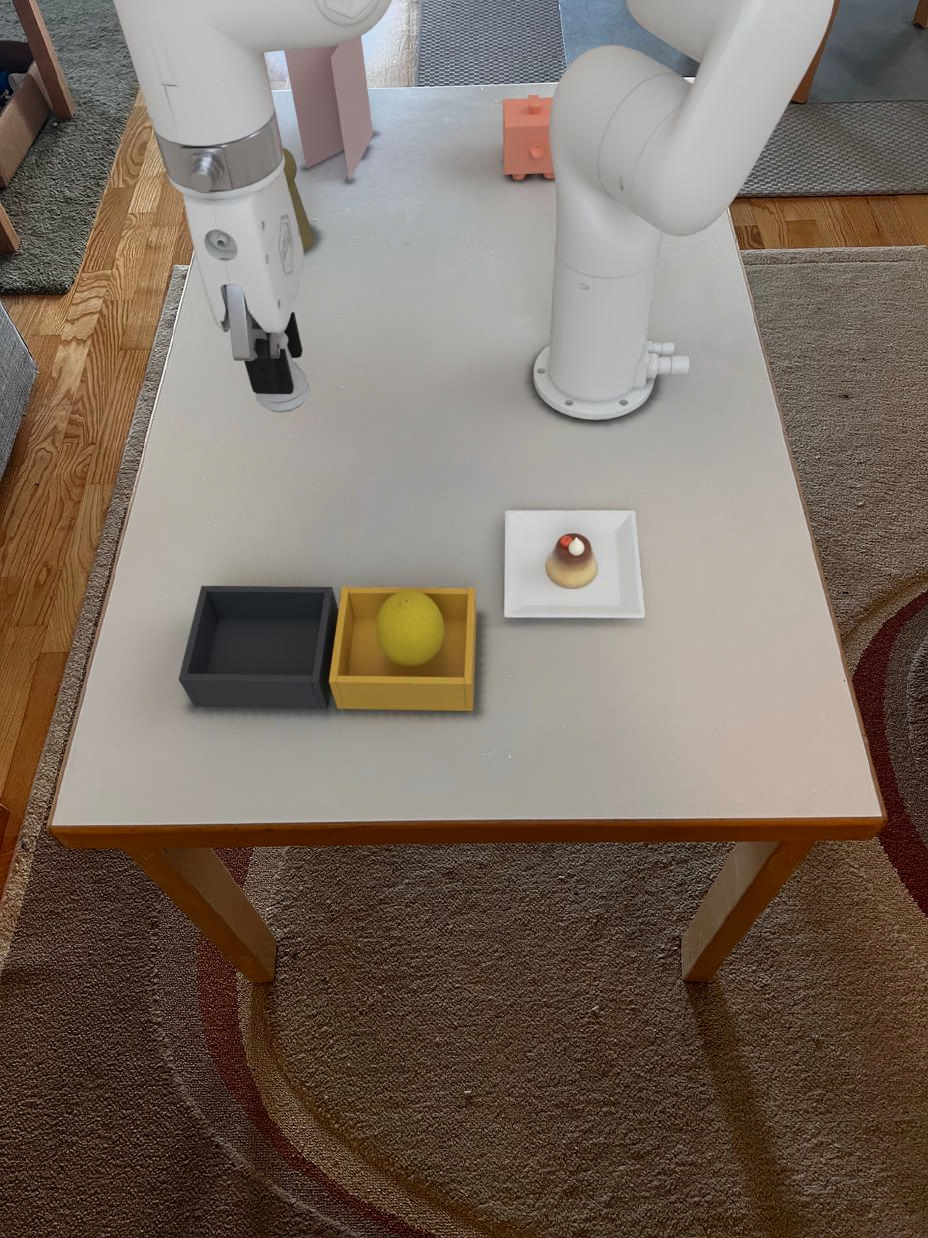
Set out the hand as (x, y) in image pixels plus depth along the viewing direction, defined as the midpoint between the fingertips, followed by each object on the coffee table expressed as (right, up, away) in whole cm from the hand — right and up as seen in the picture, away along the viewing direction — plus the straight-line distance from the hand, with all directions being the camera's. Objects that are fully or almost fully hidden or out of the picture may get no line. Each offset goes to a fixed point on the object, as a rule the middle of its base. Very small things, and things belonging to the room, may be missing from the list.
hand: (278, 371), depth 72 cm
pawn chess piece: (-7, +27, +39) cm, 48 cm away
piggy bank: (+24, +39, +46) cm, 65 cm away
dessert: (+24, -15, +10) cm, 30 cm away
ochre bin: (+10, -23, +5) cm, 26 cm away
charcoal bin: (-2, -23, +6) cm, 24 cm away
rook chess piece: (0, -2, +2) cm, 3 cm away
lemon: (+11, -23, +5) cm, 26 cm away
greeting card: (0, +41, +49) cm, 64 cm away
